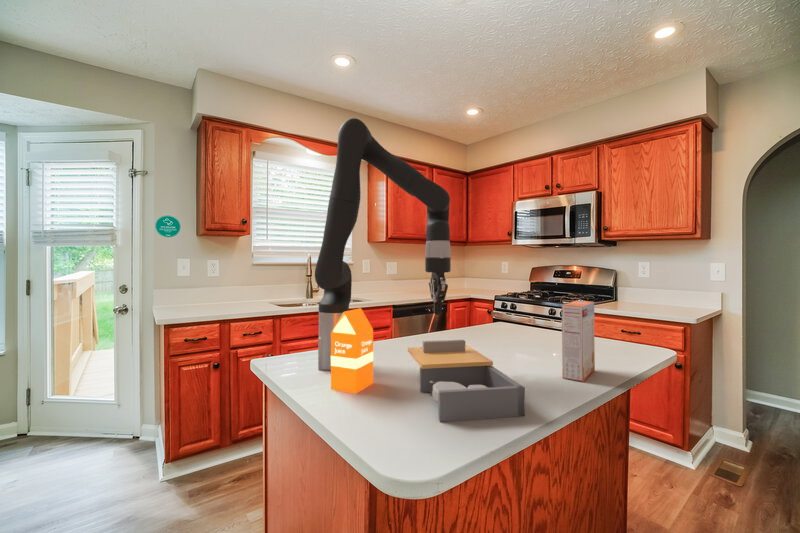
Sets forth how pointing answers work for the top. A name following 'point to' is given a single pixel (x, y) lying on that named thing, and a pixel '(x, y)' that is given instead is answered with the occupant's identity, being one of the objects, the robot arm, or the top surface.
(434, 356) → the lid
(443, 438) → the top surface
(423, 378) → the box
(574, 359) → the cracker box
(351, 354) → the orange juice
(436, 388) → the robot toy
